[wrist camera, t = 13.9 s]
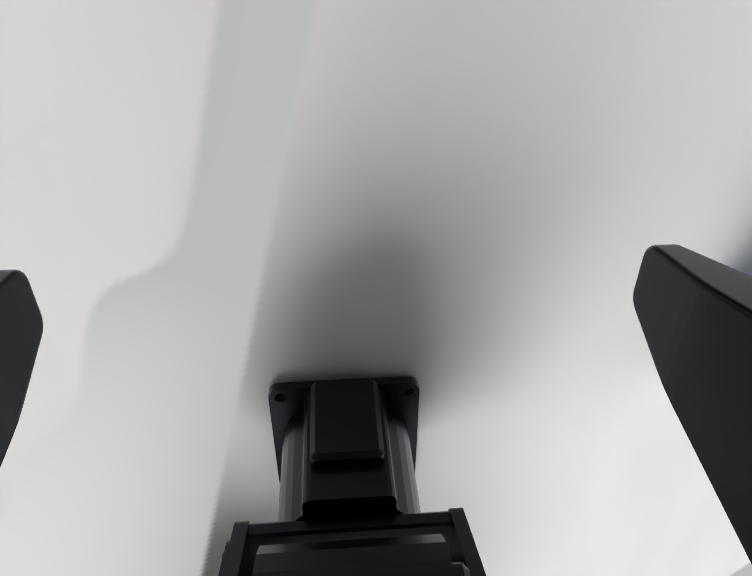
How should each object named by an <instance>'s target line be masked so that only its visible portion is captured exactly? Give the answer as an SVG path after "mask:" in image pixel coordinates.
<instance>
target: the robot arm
mask: <svg viewBox="0 0 752 576" xmlns="http://www.w3.org/2000/svg"><path fill="white" fill-rule="evenodd" d="M633 302H634V307H635V310H636V313H637V316H638V319H639V321H640V324H641V327H642V330H643V332H644V335H645V338H646V341H647V344H648V346H649V349H650V352H651V355H652V357H653V360H654V363H655V366H656V369H657V371H658V374H659V377H660V379H661V382H662V384H663V387H664V389H665V391H666V393H667V396H668V398H669V400H670V402H671V404H672V406H673V408H674V410H675V412H676V414H677V416H678V418H679V420H680V422H681V424H682V426H683V428H684V430H685V432H686V434H687V436H688V438H689V440H690V442H691V444H692V446H693V448H694V450H695V452H696V454H697V456H698V458H699V460H700V462H701V464H702V466H703V468H704V470H705V472H706V474H707V476H708V478H709V480H710V482H711V484H712V486H713V488H714V490H715V492H716V494H717V496H718V498H719V500H720V502H721V504H722V506H723V508H724V510H725V512H726V514H727V516H728V518H729V520H730V522H731V524H732V526H733V528H734V530H735V532H736V534H737V536H738V538H739V540H740V542H741V544H742V546H743V548H744V550H745V552H746V554H747V556H748V558H749V560H750V562H751V564H752V277H751V276H749V275H747V274H744V273H742V272H740V271H737V270H735V269H733V268H731V267H728V266H726V265H724V264H721V263H719V262H717V261H714V260H712V259H710V258H708V257H705V256H703V255H701V254H698V253H696V252H694V251H691V250H689V249H687V248H684V247H682V246H680V245H674V244H672V245H653V246H651V247H649V248H648V249H647V250H646V252H645V254H644V256H643V260H642V263H641V267H640V270H639V274H638V277H637V281H636V285H635V288H634V293H633ZM42 333H43V320H42V316H41V313H40V310H39V307H38V305H37V302H36V299H35V297H34V294H33V291H32V289H31V286H30V283H29V281H28V279H27V277H26V275H25V274H24V273H23V272H21V271H19V270H0V466H1V464H2V462H3V459H4V457H5V454H6V452H7V449H8V447H9V444H10V442H11V439H12V437H13V434H14V432H15V429H16V426H17V424H18V421H19V417H20V414H21V411H22V408H23V404H24V400H25V397H26V393H27V389H28V385H29V382H30V378H31V374H32V370H33V367H34V363H35V359H36V356H37V352H38V348H39V344H40V341H41V337H42ZM405 387H411V388H409V389H404V388H405ZM279 393H280V394H284V395H282V396H280V395H277V394H279ZM418 404H419V387H418V382H417V380H416V379H415V378H413V377H408V376H405V377H385V378H365V379H345V380H326V381H306V382H286V383H276V384H274V385H272V386H271V387H270V389H269V406H270V413H271V421H272V429H273V436H274V444H275V451H276V459H277V466H278V474H279V481H280V498H279V515H278V522H269V523H253V524H250V522H249V521H246V522H235V523H234V527H233V531H232V536H231V540H230V541H227V543H226V547H225V551H224V553H223V557H222V563H221V567H220V572H219V576H486V574H485V571H484V568H483V565H482V562H481V559H480V556H479V553H478V550H477V548H476V545H475V542H474V539H473V536H472V533H471V530H470V527H469V524H468V521H467V519H466V516H465V513H464V510H463V508H451V509H449V510H448V511H443V512H427V513H421V512H420V505H419V499H418V492H417V486H416V479H415V462H416V443H417V424H418Z"/></svg>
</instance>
